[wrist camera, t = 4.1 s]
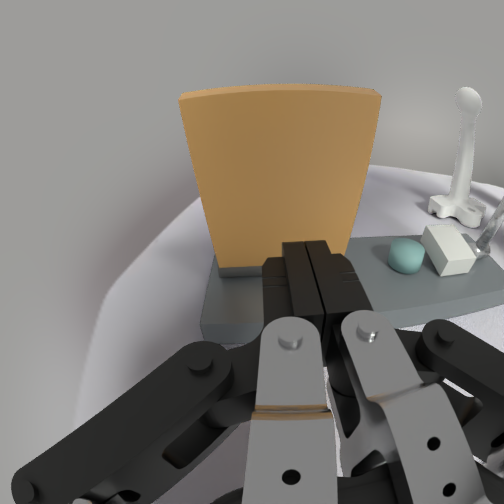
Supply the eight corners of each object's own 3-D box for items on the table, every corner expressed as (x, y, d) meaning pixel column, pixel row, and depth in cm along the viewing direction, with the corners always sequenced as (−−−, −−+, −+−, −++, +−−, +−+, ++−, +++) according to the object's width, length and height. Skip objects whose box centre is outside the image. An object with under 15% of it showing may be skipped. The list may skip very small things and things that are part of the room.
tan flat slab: (336, 258, 21) (372, 87, 11) (340, 275, 20) (386, 98, 10) (221, 264, 22) (181, 91, 11) (220, 281, 21) (174, 102, 10)
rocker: (447, 239, 22) (454, 224, 20) (468, 272, 18) (476, 258, 17) (420, 240, 22) (426, 225, 20) (440, 276, 18) (448, 260, 17)
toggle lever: (477, 246, 21) (523, 167, 13) (485, 263, 20) (537, 185, 11) (458, 247, 21) (506, 162, 13) (467, 266, 20) (521, 181, 12)
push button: (410, 253, 22) (414, 237, 21) (426, 272, 19) (431, 255, 18) (382, 254, 22) (385, 238, 21) (396, 275, 19) (400, 258, 18)
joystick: (468, 207, 35) (481, 94, 25) (495, 228, 29) (514, 101, 18) (422, 207, 35) (433, 77, 25) (451, 231, 29) (468, 80, 19)
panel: (462, 248, 25) (466, 233, 24) (509, 302, 17) (517, 285, 16) (219, 262, 26) (217, 244, 25) (205, 343, 18) (199, 324, 17)
